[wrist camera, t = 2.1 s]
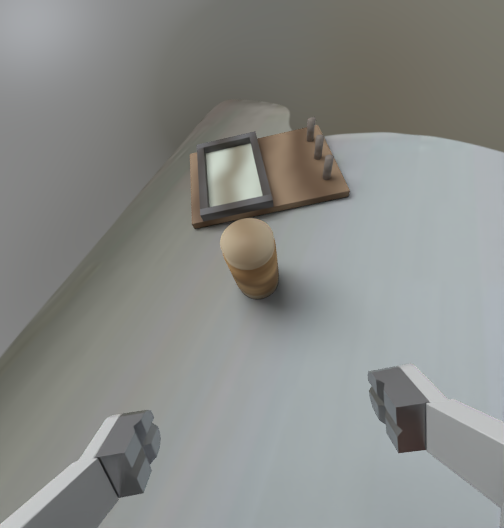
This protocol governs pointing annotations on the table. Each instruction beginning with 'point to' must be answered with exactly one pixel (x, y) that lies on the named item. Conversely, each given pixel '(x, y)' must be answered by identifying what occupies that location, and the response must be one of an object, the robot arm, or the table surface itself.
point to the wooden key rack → (262, 175)
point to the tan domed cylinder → (251, 256)
